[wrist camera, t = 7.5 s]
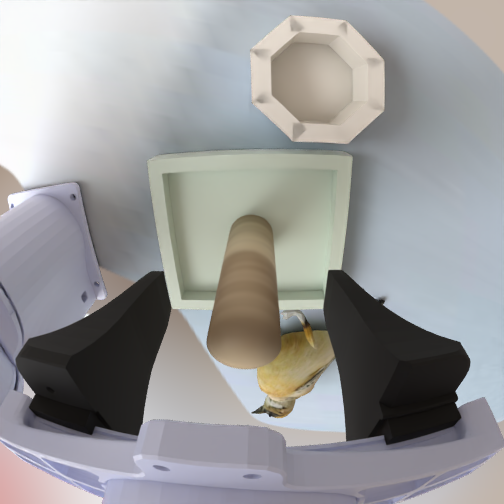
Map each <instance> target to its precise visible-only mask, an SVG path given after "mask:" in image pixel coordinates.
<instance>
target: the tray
mask: <svg viewBox="0 0 504 504" xmlns="http://www.w3.org/2000/svg"><path fill="white" fill-rule="evenodd" d="M352 159H353V156H351V155H350V154H348V153H346V152H345V151H335V150H311V149H241V150H216V151H199V152H185V153H173V154H163V155H157V156H155V157H153V158H151V159H149V160H147V167H148V175H149V183H150V190H151V197H152V204H153V211H154V217H155V223H156V230H157V235H158V241H159V247H160V252H161V257H162V263H163V268H164V273H165V278H166V282H167V287H168V292H169V296H170V301H171V305H172V309H197V310H213V307H214V302H215V297H216V292H217V287H218V283H219V278H220V273H221V269H222V264H223V260H224V255H225V251H226V246H227V242H228V237H229V233H230V229H231V226H232V224H233V223H234V222H235V221H236V220H237V219H238V218H240V217H242V216H245V215H257V216H260V217H262V218H264V219H265V220H267V221H268V223H269V224H270V225H271V227H272V231H273V240H274V252H275V264H276V276H277V289H278V302H279V310H302V309H323V305H324V298H325V291H326V283H327V276H328V270H341V267H342V260H343V252H344V245H345V237H346V228H347V219H348V209H349V199H350V187H351V174H352Z"/></svg>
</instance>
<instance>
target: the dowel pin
mask: <svg viewBox="0 0 504 504" xmlns="http://www.w3.org/2000/svg"><path fill="white" fill-rule="evenodd" d="M281 346H282V345H281V329H280V315H279V302H278V289H277V276H276V264H275V252H274V240H273V231H272V227H271V225H270V224H269V223H268V221H267V220H265V219H264V218H262V217H260V216H257V215H245V216H242V217H240V218H238V219H237V220H236V221H235V222H234V223H233V224H232V226H231V229H230V233H229V237H228V242H227V246H226V251H225V255H224V260H223V264H222V269H221V273H220V278H219V283H218V287H217V292H216V297H215V302H214V307H213V311H212V316H211V321H210V326H209V331H208V336H207V348H208V350H209V352H210V353H211V355H212V356H213V357H214V358H215V359H216V360H218V361H219V362H221V363H222V364H224V365H227V366H230V367H233V368H238V369H254V368H259V367H262V366H265V365H267V364H269V363H270V362H272V361H273V360H274V359H275V358H276V357H277V356H278V355H279V353H280V351H281Z"/></svg>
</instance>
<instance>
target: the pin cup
mask: <svg viewBox="0 0 504 504" xmlns="http://www.w3.org/2000/svg"><path fill="white" fill-rule="evenodd" d="M250 53H251V88H252V104H254V105H255V106H256V107H257V108H258V109H259V110H260V111H261V112H262V113H264V114H265V115H266V116H267V117H268V118H269V119H270V120H271V121H272V122H273V123H274V124H275V125H276V126H277V127H279V128H280V129H281V130H282V131H283V132H284V133H285V134H286V135H287V136H288V137H289V138H290V139H291V140H292V142H322V143H341V144H348V143H349V142H350V141H351V140H352V139H353V138H355V137H356V136H357V135H358V134H359V133H360V132H361V131H362V130H363V129H364V128H366V127H367V126H368V125H369V124H370V123H371V122H372V121H373V120H374V119H376V118H377V117H378V116H379V115H380V114H381V113H382V112H383V111H384V100H385V74H384V60H383V58H382V57H381V56H380V55H379V54H378V53H377V52H376V51H375V49H374V48H373V47H372V46H371V45H370V44H369V43H368V42H367V41H366V40H365V39H364V38H363V37H362V36H361V35H360V34H359V33H358V32H357V31H356V30H355V29H354V28H353V27H352V26H351V25H350V24H349V23H348V22H347V21H345V20H337V19H329V18H319V17H307V16H291V15H290V16H289V17H288V18H287V19H286V20H284V21H283V22H282V23H281V24H279V25H278V26H277V27H276V28H275V29H273V30H272V31H271V32H270V33H269V34H268V35H266V36H265V37H264V38H263V39H262V40H261V41H260V42H259V43H257V44H256V45H255V46H254V47H253V48H252V49H250Z"/></svg>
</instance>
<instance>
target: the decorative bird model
mask: <svg viewBox="0 0 504 504" xmlns="http://www.w3.org/2000/svg"><path fill="white" fill-rule="evenodd" d="M378 302H379V303H381V304H382V305H383V304H384V302H385V301H384V300H380V301H378ZM281 314H282V315H284V317H283V319H286V320H287V319H288V318H290V317H291V316H297V317H298V319H299V320H300V321H301V323H302V325H303V328H304V331H302V332H293V333H288V334H285V335H282V336H281V345H282V346H281V351H280V353H279V355H278V356H277V357H276V358H275V359H274V360H273V361H272V362H270V363H269V364H267V365H265V366H262V367H259V368H257V379H258V384H259V387H260V389H261V390H262V391H263V392H265V393H266V394H268V395H267V397H266V399H265V403H264V405H263V406H261V407H260V408H258V409H257V410H256V411H254V412H252V413H256V414H261V413H267V414H269V417H271V416H272V417H275V418H283V417H285V416H287V415H288V414H289V413H290V412H291V411H292V410H293V407H294V404H295V399H298V398H299V397H301V396H303V395H306V394H307V393H309V392H311V390H312V389H313V388H314V385H315V383H316V381H317V380H318V378H319V377H320V376H321V374H322V373H323V372H324V371H325V370H326V368H327V367H328V366H329V364H330V363H331V362H332V361H333V360H334V359H335V355H334V351H333V348H332V345H331V341H330V338H329V334H328V331H326V330H324V331H320V330H315V331H312V329H311V326H310V324H309V323H308V321H307V320H306V318H305V316H304V314H303V313H302V311H300V310H284V311H283V312H282V313H281Z"/></svg>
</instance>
